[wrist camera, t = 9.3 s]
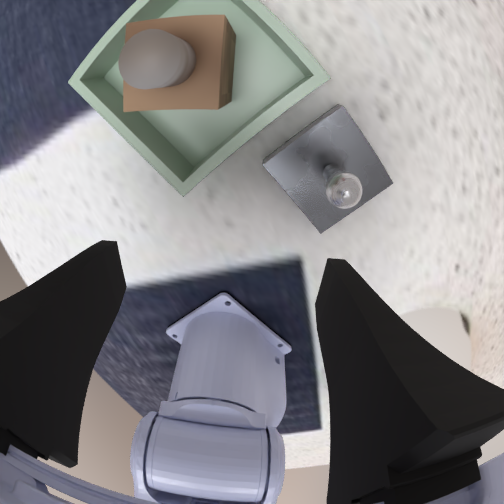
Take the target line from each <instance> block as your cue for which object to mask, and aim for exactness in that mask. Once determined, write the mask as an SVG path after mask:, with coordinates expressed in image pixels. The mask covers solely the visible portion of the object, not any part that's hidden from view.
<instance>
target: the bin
mask: <svg viewBox="0 0 504 504" xmlns="http://www.w3.org/2000/svg"><path fill="white" fill-rule="evenodd" d="M191 15H225V16H226V18H227V19H228V21H229V23H230V25H231V26H232V28H233V30H234V32H235V34H236V46H235V59H234V73H233V88H232V102H230V103H228V104H227V105H225V106H223V107H222V108H220V109H219V110H209V109H176V110H149V111H133V112H123V78H122V76H121V74H120V71H119V66H118V61H119V55H120V52H121V50H122V48H123V46H124V45H125V33H126V23H131V22H137V21H143V20H150V19H158V18H167V17H177V16H191ZM329 79H331V78H330V76H329V75H328V74H327V73H326V71H325V70H324V69H323V68H322V66H321V65H320V64H319V63H318V62H317V60H316V59H315V58H314V57H313V56H312V55H311V53H310V52H309V51H308V50H307V49H306V48H305V47H304V46H303V44H302V43H301V42H300V41H299V40H298V39H297V38H296V37H295V36H294V35H293V34H292V33H291V32H290V30H289V29H288V28H287V27H286V26H285V25H284V24H283V23H282V22H281V21H280V20H279V19H278V18H277V17H276V16H275V15H274V14H273V13H272V12H271V11H270V10H268V9H267V8H266V7H265V6H264V5H263V4H262V3H261V2H260V1H259V0H137V1H136V2H135V3H134V4H133V5H132V6H131V7H130V8H129V9H128V10H127V11H126V12H125V13H124V14H123V15H122V16H121V17H120V18H119V19H118V20H117V21H116V22H115V24H114V25H113V26H112V27H111V28H110V29H109V30H108V31H107V32H106V34H105V35H104V36H103V37H102V38H101V39H100V41H99V42H98V43H97V44H96V45H95V47H94V48H93V49H92V50H91V52H90V53H89V54H88V55H87V57H86V58H85V59H84V61H83V62H82V63H81V65H80V66H79V67H78V69H77V70H76V72H75V73H74V74H73V76H72V77H71V79H70V80H69V81H68V83H69V84H70V85H71V86H72V87H73V88H74V89H75V90H76V91H77V92H78V93H79V94H80V95H81V96H82V97H83V98H84V99H85V100H86V101H87V102H88V103H89V104H90V105H91V106H92V107H93V108H94V109H95V110H96V111H97V112H98V113H99V114H100V115H101V116H102V117H103V118H104V119H105V120H106V121H107V122H108V123H109V124H110V125H111V126H112V127H113V128H114V129H115V130H116V131H117V132H118V133H119V134H120V135H121V136H122V137H123V138H124V139H125V140H126V141H127V142H128V143H129V144H130V145H131V146H132V147H133V148H134V149H135V150H136V151H137V152H138V153H139V154H140V155H141V156H142V157H143V158H144V159H145V160H146V161H147V162H148V163H149V164H150V165H151V166H152V167H153V168H154V169H155V170H156V171H157V172H158V173H159V174H160V175H161V176H162V177H163V178H164V179H165V180H166V181H167V182H168V183H169V184H170V185H171V186H173V187H174V188H175V189H176V190H177V191H178V192H179V193H180V194H181V195H182V196H183V197H184V196H185V195H186V194H187V193H188V192H189V191H190V190H192V189H193V188H194V187H195V186H196V185H197V184H198V183H199V182H200V181H201V180H203V179H204V178H205V177H206V176H207V175H208V174H209V173H210V172H212V171H213V170H214V169H215V168H216V167H217V166H219V165H220V164H221V163H222V162H223V161H224V160H225V159H227V158H228V157H229V156H230V155H231V154H233V153H234V152H235V151H236V150H237V149H239V148H240V147H241V146H242V145H243V144H245V143H246V142H247V141H248V140H249V139H251V138H252V137H253V136H254V135H256V134H257V133H258V132H259V131H261V130H262V129H263V128H264V127H266V126H267V125H268V124H269V123H271V122H272V121H273V120H275V119H276V118H277V117H278V116H280V115H281V114H282V113H284V112H285V111H286V110H288V109H289V108H290V107H292V106H293V105H294V104H296V103H297V102H298V101H300V100H301V99H303V98H304V97H305V96H307V95H308V94H309V93H311V92H312V91H314V90H315V89H316V88H318V87H319V86H321V85H322V84H324V83H325V82H326V81H328V80H329Z"/></svg>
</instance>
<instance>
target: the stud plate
mask: <svg viewBox="0 0 504 504" xmlns="http://www.w3.org/2000/svg"><path fill="white" fill-rule="evenodd" d="M263 166H264V167H265V168H266V170H267V171H268V172H269V173H270V174H271V175H272V176H273V177H274V179H275V180H276V181H277V182H278V183H279V184H280V186H281V187H282V188H283V189H284V190H285V191H286V193H287V194H288V195H289V196H290V197H291V198H292V200H293V201H294V202H295V203H296V204H297V206H298V207H299V208H300V209H301V210H302V212H303V213H304V214H305V215H306V216H307V218H308V219H309V220H310V221H311V222H312V224H313V225H314V226H315V227H316V229H317V230H318V231H319V232H320V234H321V233H322V232H324V231H325V230H327V229H328V228H330V227H331V226H333V225H334V224H336V223H337V222H338V221H340V220H341V219H343V218H344V217H346V216H347V215H349V214H350V213H351V212H353V211H354V210H356V209H357V208H359V207H360V206H362V205H363V204H364V203H366V202H367V201H369V200H370V199H372V198H373V197H374V196H376V195H377V194H379V193H380V192H382V191H383V190H384V189H386V188H387V187H389V186H390V185H391V184H393V182H392V180H391V178H390V177H389V175H388V173H387V172H386V170H385V168H384V167H383V165H382V163H381V162H380V160H379V158H378V157H377V155H376V154H375V152H374V150H373V149H372V147H371V146H370V144H369V143H368V141H367V140H366V138H365V137H364V135H363V134H362V132H361V131H360V129H359V128H358V126H357V125H356V123H355V122H354V120H353V119H352V118H351V116H350V115H349V113H348V112H347V111H346V109H345V108H344V107H343V106H342V105H339V104H338V105H336V106H335V107H334V108H332V109H331V110H329V111H328V112H327V113H325V114H324V115H322V116H321V117H320V118H318V119H317V120H315V121H314V122H313V123H311V124H310V125H309V126H307V127H306V128H305V129H303V130H302V131H300V132H299V133H298V134H296V135H295V136H294V137H292V138H291V139H290V140H289V141H287V142H286V143H285V144H283V145H282V146H281V147H279V148H278V149H277V150H275V151H274V152H273V153H272V154H270V155H269V156H268V157H266V158H265V159H264V160H263Z"/></svg>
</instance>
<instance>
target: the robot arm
mask: <svg viewBox="0 0 504 504" xmlns="http://www.w3.org/2000/svg"><path fill="white" fill-rule="evenodd" d="M125 290H126V282H125V278H124V274H123V269H122V265H121V260H120V255H119V250H118V245H117V241H105V240H102V241H100V242H98V243H96V244H94V245H92V246H91V247H89V248H87V249H86V250H84V251H83V252H81V253H79V254H78V255H76V256H75V257H73V258H72V259H70V260H69V261H67V262H66V263H64V264H63V265H61V266H60V267H58V268H57V269H55V270H54V271H52V272H50V273H49V274H47V275H46V276H44V277H43V278H41V279H39V280H38V281H36V282H35V283H33V284H32V285H30V286H28V287H27V288H25V289H23V290H21V291H20V292H18V293H16V294H14V295H12V296H10V297H9V298H7V299H5V300H2V301H0V504H73V503H71V502H69V501H66V500H63V499H61V498H59V497H57V496H54V495H52V494H50V493H49V492H48V490H47V487H46V485H48V486H50V487H52V488H54V489H56V490H58V491H60V492H63V493H65V494H67V495H69V496H71V497H74V498H76V499H78V500H81V501H83V502H86V503H88V504H276V502H277V498H278V496H279V494H280V492H281V489H282V486H283V481H284V473H285V447H284V441H283V438H282V436H281V434H280V433H279V432H278V431H277V429H276V427H277V426H278V425H279V423H280V421H281V420H282V418H283V415H284V413H285V409H286V381H285V361H284V355H285V354H287V353H289V352H291V346H290V345H289V344H288V343H287V342H285V341H284V340H283V339H282V338H280V337H279V336H278V335H277V334H275V333H274V332H273V331H272V330H271V329H269V328H268V327H267V326H266V325H264V324H263V323H262V322H261V321H260V320H258V319H257V318H256V317H255V316H254V315H252V314H251V313H250V312H249V311H248V310H246V309H245V308H244V307H243V306H242V305H240V304H239V303H238V302H237V301H236V300H235V299H233V298H232V297H231V296H230V295H229V294H227V293H220V294H218V295H217V296H215V297H214V298H212V299H211V300H209V301H208V302H206V303H205V304H203V305H202V306H200V307H199V308H197V309H196V310H194V311H193V312H191V313H190V314H188V315H187V316H185V317H183V318H182V319H180V320H179V321H177V322H176V323H174V324H173V325H171V326H170V327H168V328H167V330H166V333H167V334H168V335H169V336H170V337H172V338H173V339H174V340H176V341H177V342H179V343H180V344H181V348H180V352H179V356H178V360H177V364H176V368H175V372H174V376H173V380H172V385H171V389H170V393H169V397H168V401H161V405H160V410H159V412H154V411H151V412H149V413H148V414H147V415H146V416H145V417H143V418H142V419H141V420H140V422H139V424H138V425H137V428H136V430H135V433H134V437H133V441H132V447H131V456H130V465H131V473H132V476H133V480H134V496H135V497H131V496H128V495H124V494H121V493H118V492H114V491H112V490H108V489H105V488H102V487H99V486H97V485H94V484H91V483H89V482H86V481H83V480H81V479H78V478H76V477H73V476H71V475H69V474H67V473H64V472H62V471H60V470H57V469H55V468H53V467H51V466H49V465H47V464H45V463H43V462H41V461H39V460H37V457H38V456H39V457H41V458H43V459H45V460H48V458H49V459H51V460H53V461H55V462H57V463H60V464H62V465H64V466H66V467H69V468H71V467H74V466H76V465H77V464H78V443H79V432H80V424H81V417H82V411H83V406H84V402H85V397H86V392H87V388H88V385H89V381H90V377H91V374H92V370H93V367H94V365H95V362H96V359H97V357H98V355H99V352H100V350H101V348H102V346H103V343H104V341H105V339H106V337H107V335H108V333H109V330H110V328H111V326H112V324H113V322H114V320H115V318H116V315H117V313H118V311H119V308H120V305H121V303H122V300H123V296H124V293H125ZM226 301H229V302H230V303H227V302H226ZM315 308H316V322H317V331H318V337H319V342H320V347H321V352H322V357H323V362H324V368H325V373H326V378H327V384H328V391H329V404H330V440H331V443H330V470H329V484H328V493H327V504H504V453H502V454H501V455H499V456H497V457H495V458H493V459H491V460H489V461H487V462H485V463H484V464H482V465H480V466H478V463H477V459H479V458H480V457H481V456H482V452H481V449H480V446H482V445H483V444H485V443H486V442H487V441H489V440H490V439H492V438H493V437H494V436H496V435H497V434H498V433H500V432H501V431H502V430H503V429H504V389H502V388H500V387H498V386H496V385H494V384H492V383H490V382H488V381H486V380H484V379H482V378H480V377H478V376H477V375H475V374H473V373H472V372H470V371H468V370H467V369H465V368H464V367H462V366H460V365H459V364H457V363H456V362H454V361H453V360H451V359H450V358H448V357H447V356H446V355H444V354H443V353H442V352H440V351H439V350H438V349H436V348H435V347H434V346H432V345H431V344H430V343H429V342H427V341H426V340H425V339H424V338H423V337H421V336H420V335H419V334H418V333H417V332H415V331H414V330H413V329H412V328H411V327H410V326H409V325H408V324H406V323H405V322H404V321H403V320H402V319H401V318H400V317H399V316H398V315H397V314H396V313H395V312H394V311H393V310H392V309H391V308H390V307H389V306H388V305H387V304H386V303H385V302H384V301H383V300H382V299H381V298H380V297H379V296H378V294H377V293H376V292H375V291H374V290H373V289H372V288H371V287H370V286H369V285H368V284H367V283H366V281H365V280H364V279H363V278H362V277H361V276H360V275H359V274H358V273H357V272H356V271H355V269H354V268H353V267H352V266H351V265H350V264H349V263H348V262H347V261H346V260H343V259H331V258H328V259H327V263H326V266H325V270H324V274H323V278H322V281H321V285H320V289H319V292H318V296H317V299H316V303H315ZM45 484H46V485H45Z"/></svg>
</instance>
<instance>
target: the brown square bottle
mask: <svg viewBox="0 0 504 504" xmlns="http://www.w3.org/2000/svg"><path fill="white" fill-rule="evenodd" d="M235 46H236V34H235V32H234V30H233V28H232V26H231V25H230V23H229V21H228V19H227V18H226V16H225V15H191V16H177V17H167V18H158V19H150V20H143V21H137V22H131V23H126V33H125V45H124V46H123V48H122V50H121V52H120V55H119V61H118V66H119V71H120V74H121V76H122V78H123V112H133V111H149V110H176V109H209V110H219V109H220V108H222V107H223V106H225V105H227V104H228V103H230V102H232V88H233V73H234V59H235Z"/></svg>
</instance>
